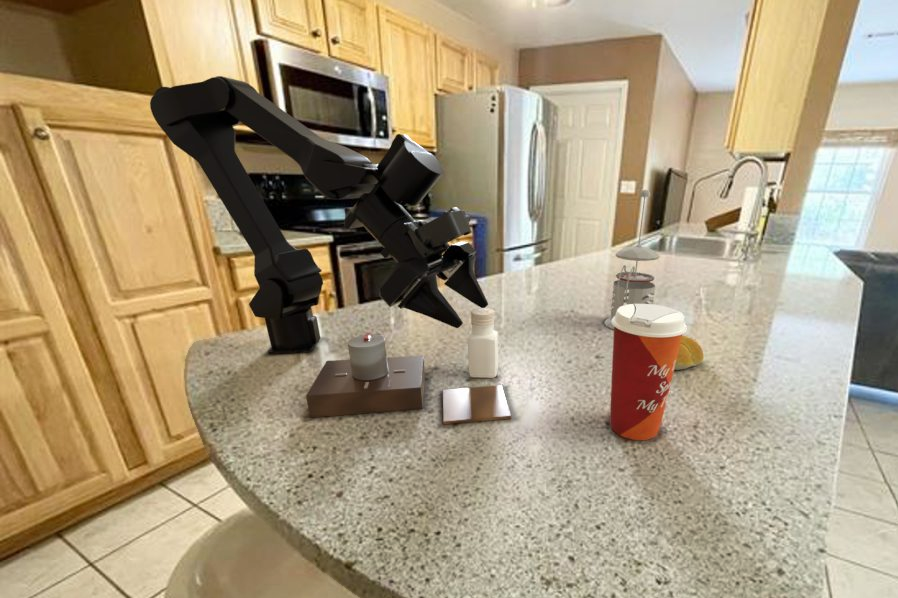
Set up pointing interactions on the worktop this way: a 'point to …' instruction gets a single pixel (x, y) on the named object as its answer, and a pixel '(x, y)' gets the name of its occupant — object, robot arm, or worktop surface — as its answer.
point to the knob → (368, 357)
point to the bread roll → (688, 354)
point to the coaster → (474, 404)
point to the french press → (633, 276)
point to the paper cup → (643, 367)
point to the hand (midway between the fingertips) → (474, 315)
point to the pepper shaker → (483, 344)
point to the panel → (367, 389)
